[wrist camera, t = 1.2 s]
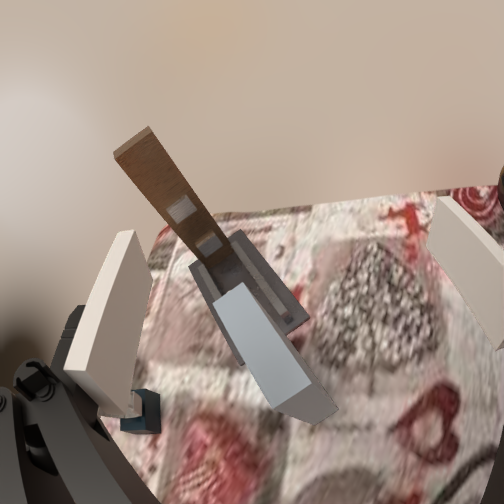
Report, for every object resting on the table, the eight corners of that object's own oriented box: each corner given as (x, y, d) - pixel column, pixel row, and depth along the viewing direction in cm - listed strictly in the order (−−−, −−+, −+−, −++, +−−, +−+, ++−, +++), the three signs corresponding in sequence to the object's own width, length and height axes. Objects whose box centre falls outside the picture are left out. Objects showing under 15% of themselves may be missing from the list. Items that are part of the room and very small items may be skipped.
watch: (125, 398, 38) (67, 374, 30) (170, 392, 37) (111, 366, 29) (125, 435, 35) (63, 417, 27) (172, 433, 33) (109, 417, 25)
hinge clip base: (241, 230, 49) (165, 112, 33) (310, 317, 36) (228, 172, 20) (189, 267, 49) (96, 163, 32) (241, 366, 36) (106, 263, 19)
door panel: (286, 336, 36) (237, 274, 26) (338, 409, 28) (311, 383, 18) (265, 350, 36) (208, 295, 25) (314, 425, 28) (272, 408, 18)
